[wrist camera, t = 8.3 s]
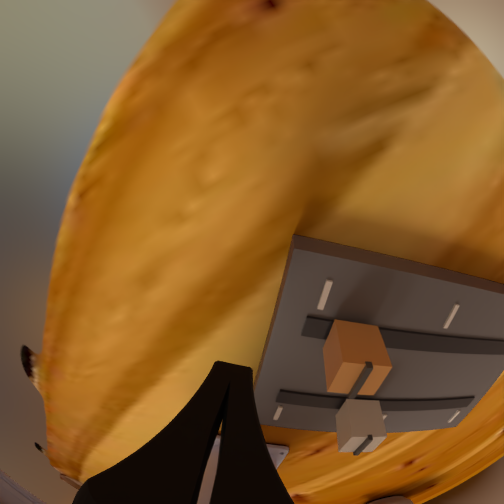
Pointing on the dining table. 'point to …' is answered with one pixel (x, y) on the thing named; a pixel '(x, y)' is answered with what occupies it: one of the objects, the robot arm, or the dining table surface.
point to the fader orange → (355, 359)
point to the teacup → (393, 500)
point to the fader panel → (393, 334)
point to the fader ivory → (360, 426)
